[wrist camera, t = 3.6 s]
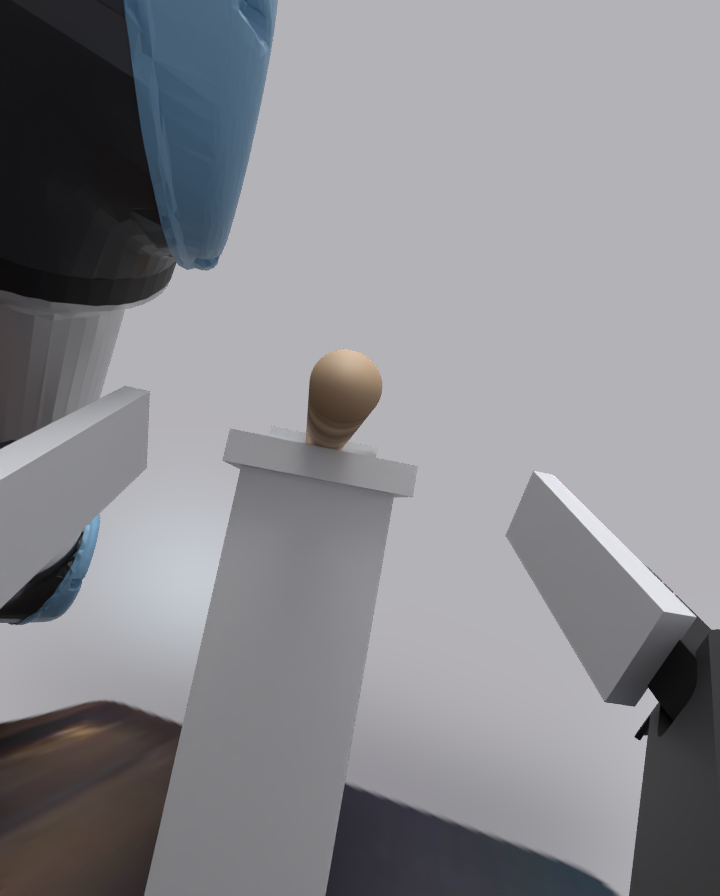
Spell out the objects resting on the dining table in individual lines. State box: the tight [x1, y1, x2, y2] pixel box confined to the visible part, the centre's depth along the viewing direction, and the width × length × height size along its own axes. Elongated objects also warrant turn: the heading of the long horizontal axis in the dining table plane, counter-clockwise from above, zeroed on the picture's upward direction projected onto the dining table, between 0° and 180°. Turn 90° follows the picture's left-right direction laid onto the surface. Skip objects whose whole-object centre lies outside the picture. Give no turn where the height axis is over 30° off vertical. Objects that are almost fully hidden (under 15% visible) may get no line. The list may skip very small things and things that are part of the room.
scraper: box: [269, 350, 382, 458], centre depth 29 cm, size 23×9×3 cm, turn 8°
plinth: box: [144, 429, 417, 896], centre depth 31 cm, size 14×12×30 cm
